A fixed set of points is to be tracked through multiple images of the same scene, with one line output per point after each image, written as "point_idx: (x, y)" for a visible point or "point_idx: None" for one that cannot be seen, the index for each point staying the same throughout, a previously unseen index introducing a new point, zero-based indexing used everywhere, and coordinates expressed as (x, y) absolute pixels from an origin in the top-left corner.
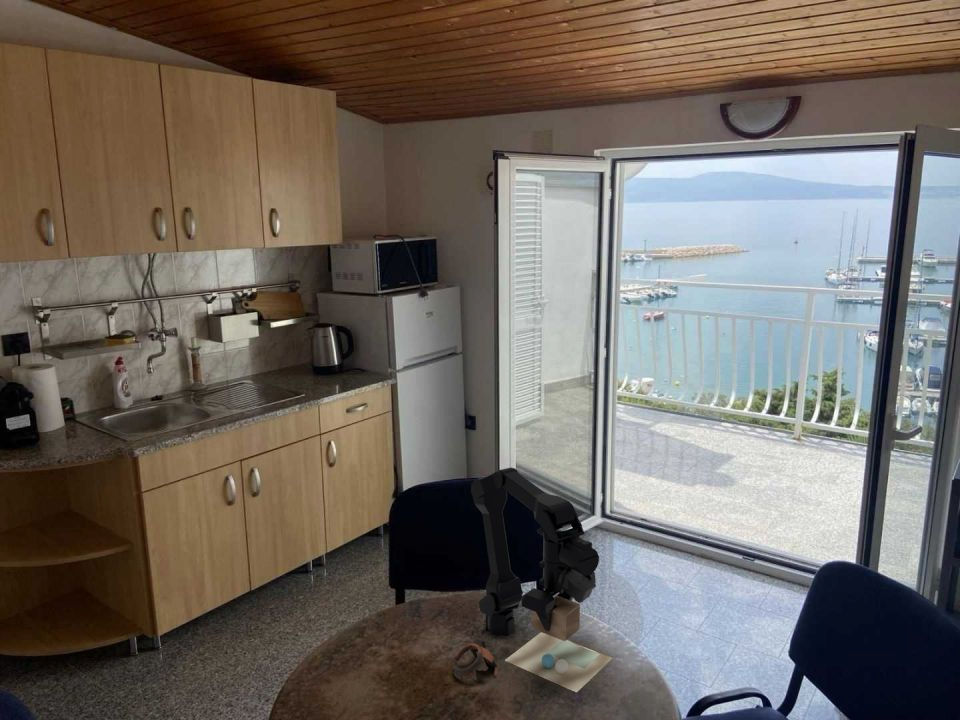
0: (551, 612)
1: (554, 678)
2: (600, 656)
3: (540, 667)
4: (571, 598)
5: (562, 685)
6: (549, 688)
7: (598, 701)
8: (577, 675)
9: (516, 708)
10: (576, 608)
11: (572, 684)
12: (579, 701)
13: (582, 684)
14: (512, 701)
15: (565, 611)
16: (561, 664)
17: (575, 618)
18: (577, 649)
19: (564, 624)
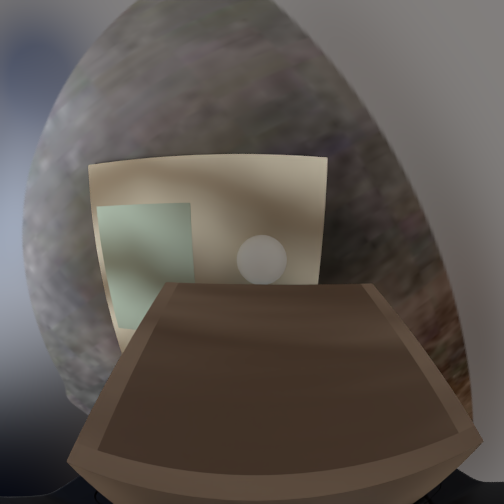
0: (440, 493)
1: (303, 253)
2: (103, 198)
3: None
4: (85, 493)
5: (321, 214)
6: (333, 245)
7: (301, 91)
8: (240, 201)
9: (435, 267)
10: (171, 465)
11: (297, 189)
12: (337, 139)
13: (276, 161)
14: (418, 289)
15: (394, 492)
16: (278, 259)
17: (213, 364)
18: (122, 274)
19: (434, 370)
